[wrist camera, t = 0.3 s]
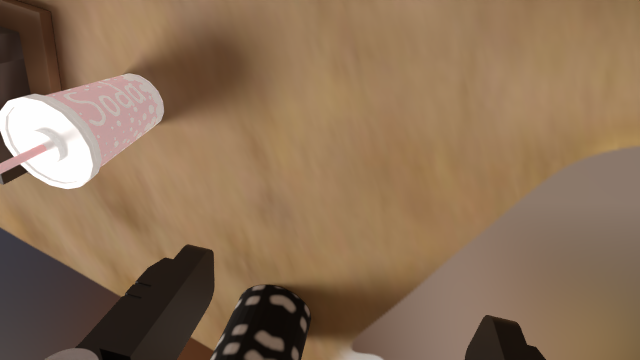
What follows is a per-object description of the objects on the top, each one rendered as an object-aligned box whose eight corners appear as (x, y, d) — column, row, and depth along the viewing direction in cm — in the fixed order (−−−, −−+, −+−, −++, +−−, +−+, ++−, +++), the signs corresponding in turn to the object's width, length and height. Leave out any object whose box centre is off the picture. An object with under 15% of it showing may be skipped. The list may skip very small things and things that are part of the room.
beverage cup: (186, 121, 29) (41, 222, 17) (135, 145, 31) (-25, 248, 19) (140, 50, 27) (-64, 110, 15) (89, 81, 29) (-126, 155, 17)
